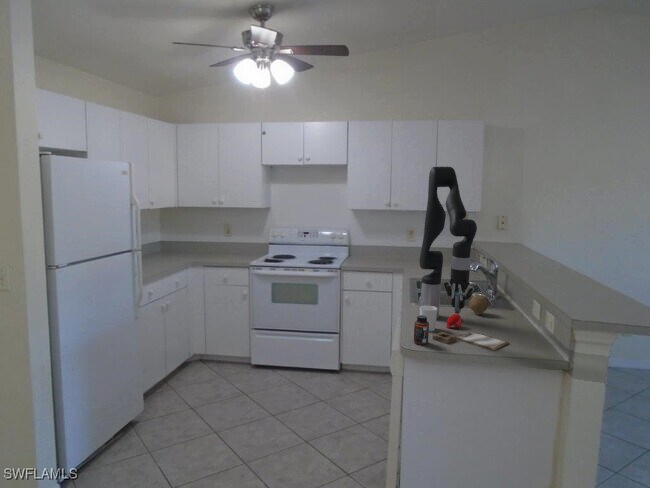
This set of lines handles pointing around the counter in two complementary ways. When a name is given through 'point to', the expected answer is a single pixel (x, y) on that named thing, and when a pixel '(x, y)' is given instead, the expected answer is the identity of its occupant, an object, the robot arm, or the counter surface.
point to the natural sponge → (478, 304)
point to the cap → (454, 320)
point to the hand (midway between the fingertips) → (457, 307)
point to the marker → (457, 303)
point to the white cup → (429, 315)
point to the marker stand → (444, 337)
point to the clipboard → (482, 340)
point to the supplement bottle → (421, 330)
